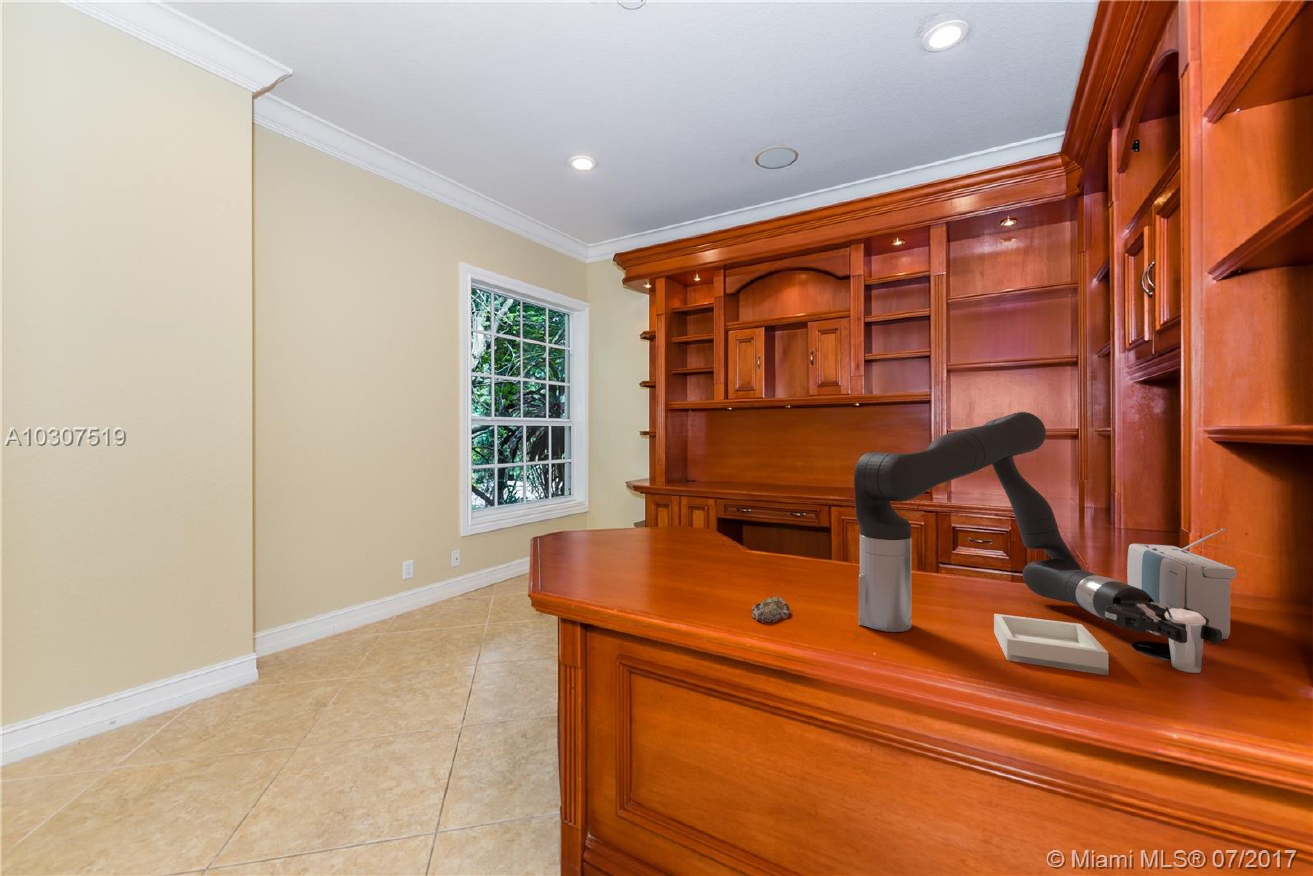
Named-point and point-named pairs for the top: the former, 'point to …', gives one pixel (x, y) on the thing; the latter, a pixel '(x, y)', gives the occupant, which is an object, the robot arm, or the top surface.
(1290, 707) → the top surface
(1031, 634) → the tray
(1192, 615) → the milkshake
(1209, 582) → the stereo radio cassette player
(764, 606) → the mineral rock
